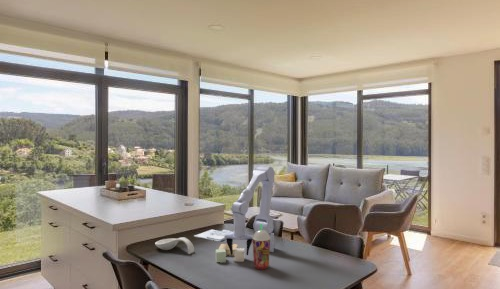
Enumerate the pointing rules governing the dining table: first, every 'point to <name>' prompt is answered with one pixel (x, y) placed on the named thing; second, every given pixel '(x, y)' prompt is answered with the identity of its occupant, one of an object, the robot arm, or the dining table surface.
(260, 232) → the smoothie
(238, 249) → the cream block
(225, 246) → the oak base
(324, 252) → the dining table surface
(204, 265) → the dining table surface
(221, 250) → the sage block
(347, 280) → the dining table surface
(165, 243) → the spoon rest
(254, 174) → the robot arm
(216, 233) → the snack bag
